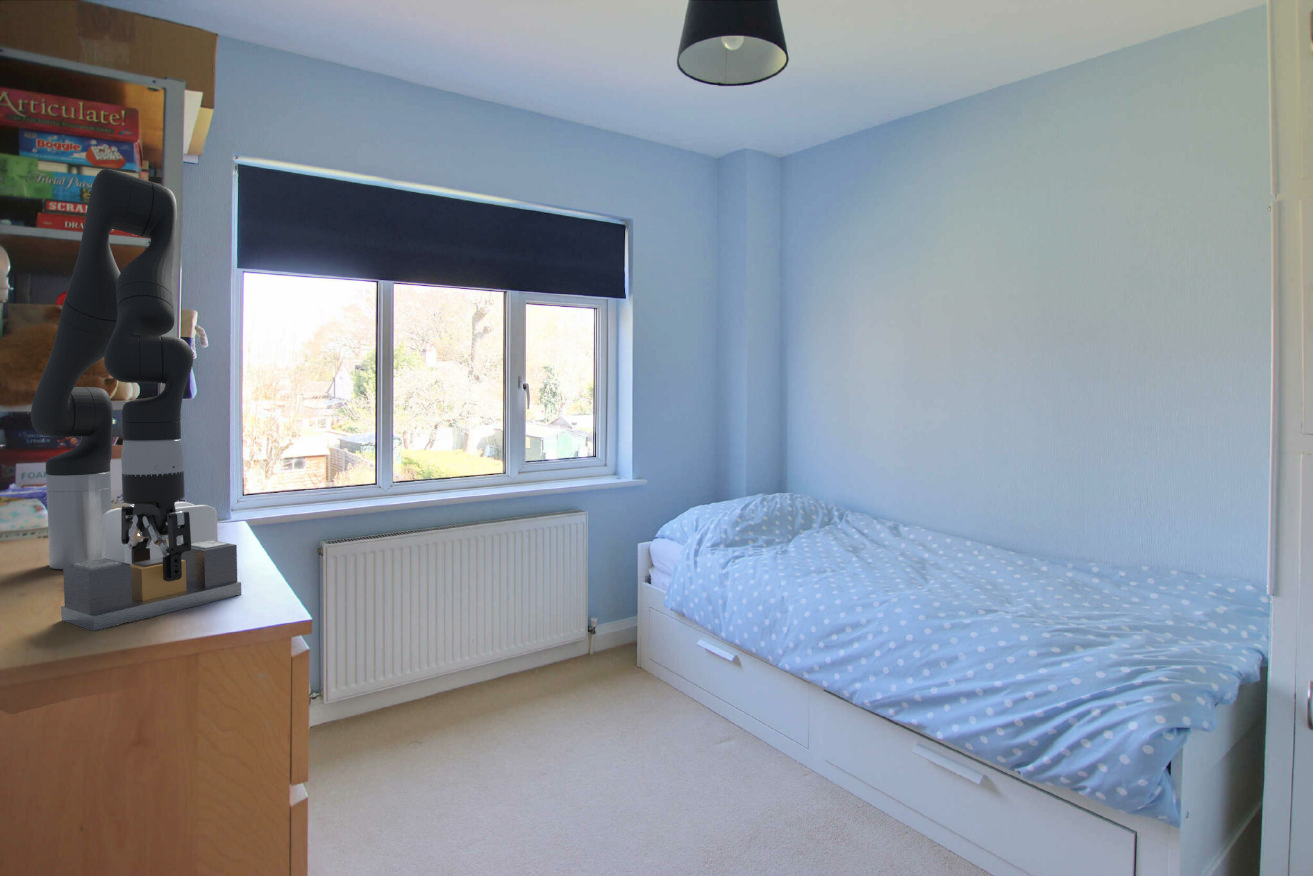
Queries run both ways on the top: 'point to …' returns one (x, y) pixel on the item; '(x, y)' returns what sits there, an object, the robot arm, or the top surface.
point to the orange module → (154, 580)
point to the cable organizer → (113, 549)
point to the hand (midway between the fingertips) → (156, 576)
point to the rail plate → (106, 599)
